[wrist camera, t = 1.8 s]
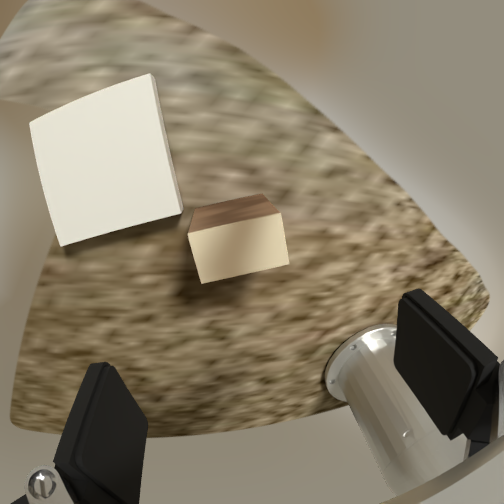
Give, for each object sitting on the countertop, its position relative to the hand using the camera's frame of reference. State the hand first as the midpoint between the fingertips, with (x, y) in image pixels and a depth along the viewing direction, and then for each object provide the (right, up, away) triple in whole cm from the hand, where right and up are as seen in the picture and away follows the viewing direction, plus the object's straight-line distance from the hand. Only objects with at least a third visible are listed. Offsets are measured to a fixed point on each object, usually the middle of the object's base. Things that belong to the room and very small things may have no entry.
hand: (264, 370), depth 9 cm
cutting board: (-13, +12, +15) cm, 23 cm away
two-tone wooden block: (-2, +7, +18) cm, 20 cm away
